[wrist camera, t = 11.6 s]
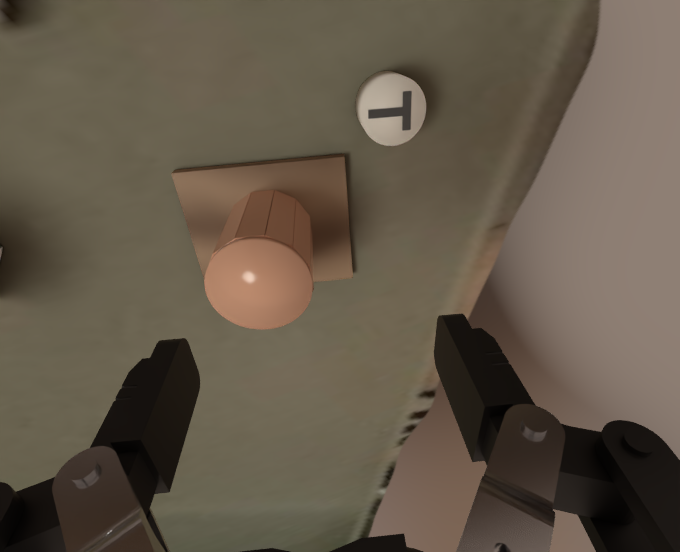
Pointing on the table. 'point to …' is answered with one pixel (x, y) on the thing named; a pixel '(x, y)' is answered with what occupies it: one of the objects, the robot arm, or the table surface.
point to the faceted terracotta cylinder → (262, 262)
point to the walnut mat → (281, 175)
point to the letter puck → (390, 108)
